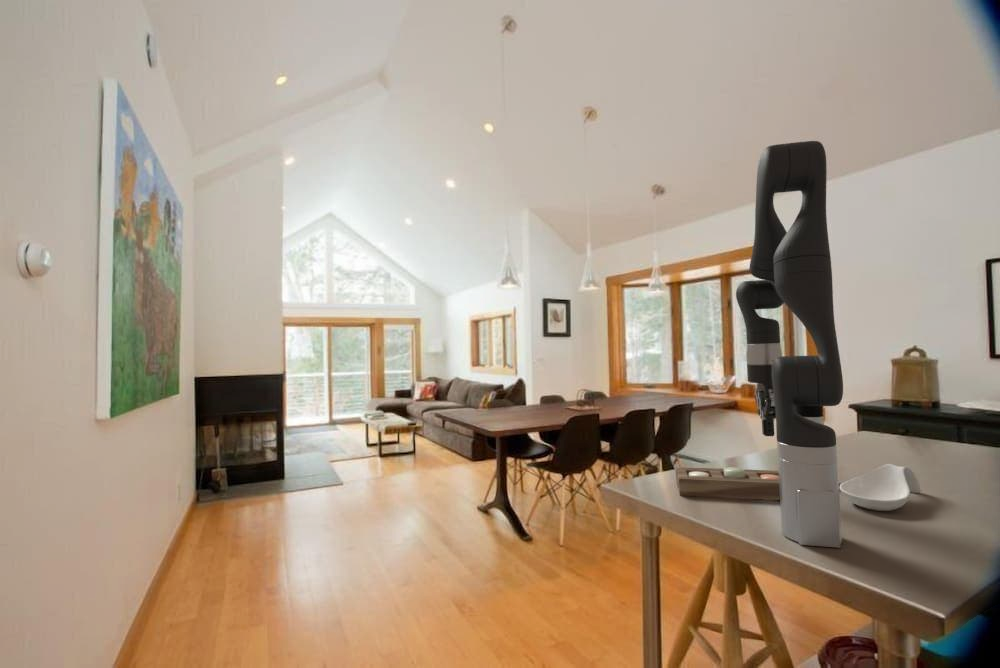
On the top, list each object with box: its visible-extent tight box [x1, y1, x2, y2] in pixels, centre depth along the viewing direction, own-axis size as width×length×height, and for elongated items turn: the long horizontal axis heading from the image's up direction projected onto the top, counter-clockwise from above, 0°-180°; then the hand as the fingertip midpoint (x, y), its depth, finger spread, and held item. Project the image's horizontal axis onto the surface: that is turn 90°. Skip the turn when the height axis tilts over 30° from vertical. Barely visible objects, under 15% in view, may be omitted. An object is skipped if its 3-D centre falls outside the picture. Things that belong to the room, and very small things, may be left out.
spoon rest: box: [839, 463, 922, 512], centre depth 103 cm, size 24×12×7 cm, turn 122°
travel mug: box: [794, 405, 825, 425], centre depth 119 cm, size 6×7×20 cm
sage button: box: [723, 466, 746, 478], centre depth 113 cm, size 5×5×3 cm
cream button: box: [689, 472, 709, 477], centre depth 115 cm, size 5×5×3 cm
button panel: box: [675, 466, 780, 501], centre depth 113 cm, size 11×26×4 cm, turn 73°
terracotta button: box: [760, 474, 779, 480], centre depth 110 cm, size 5×5×3 cm
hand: (768, 435), depth 111 cm, fingers closed
